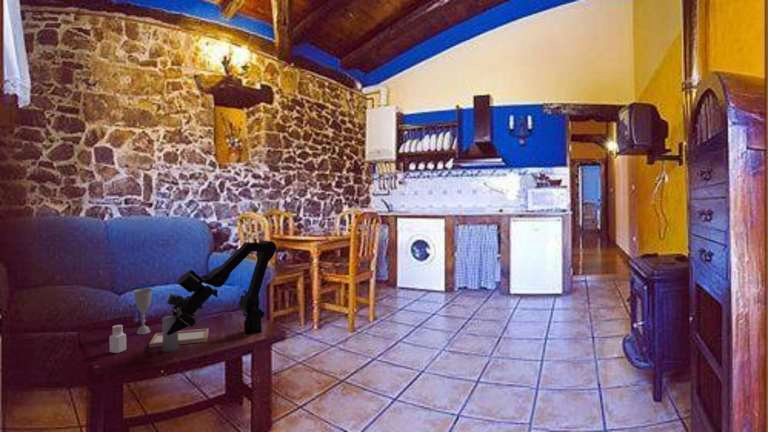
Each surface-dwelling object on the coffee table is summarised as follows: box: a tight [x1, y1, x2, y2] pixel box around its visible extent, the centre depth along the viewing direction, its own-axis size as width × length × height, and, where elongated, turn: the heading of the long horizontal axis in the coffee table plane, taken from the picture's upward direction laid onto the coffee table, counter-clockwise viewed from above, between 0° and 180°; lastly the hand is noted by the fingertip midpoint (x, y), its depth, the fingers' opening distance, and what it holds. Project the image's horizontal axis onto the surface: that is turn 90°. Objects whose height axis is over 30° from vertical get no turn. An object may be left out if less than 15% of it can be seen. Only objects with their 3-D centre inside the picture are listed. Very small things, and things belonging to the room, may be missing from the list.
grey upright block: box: [161, 315, 179, 353], centre depth 153 cm, size 5×5×12 cm
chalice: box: [132, 287, 153, 335], centre depth 172 cm, size 7×7×18 cm
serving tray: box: [148, 327, 210, 348], centre depth 164 cm, size 20×13×2 cm, turn 110°
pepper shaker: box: [108, 324, 127, 354], centre depth 151 cm, size 4×4×10 cm
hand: (166, 332), depth 152 cm, fingers open, 6 cm apart
